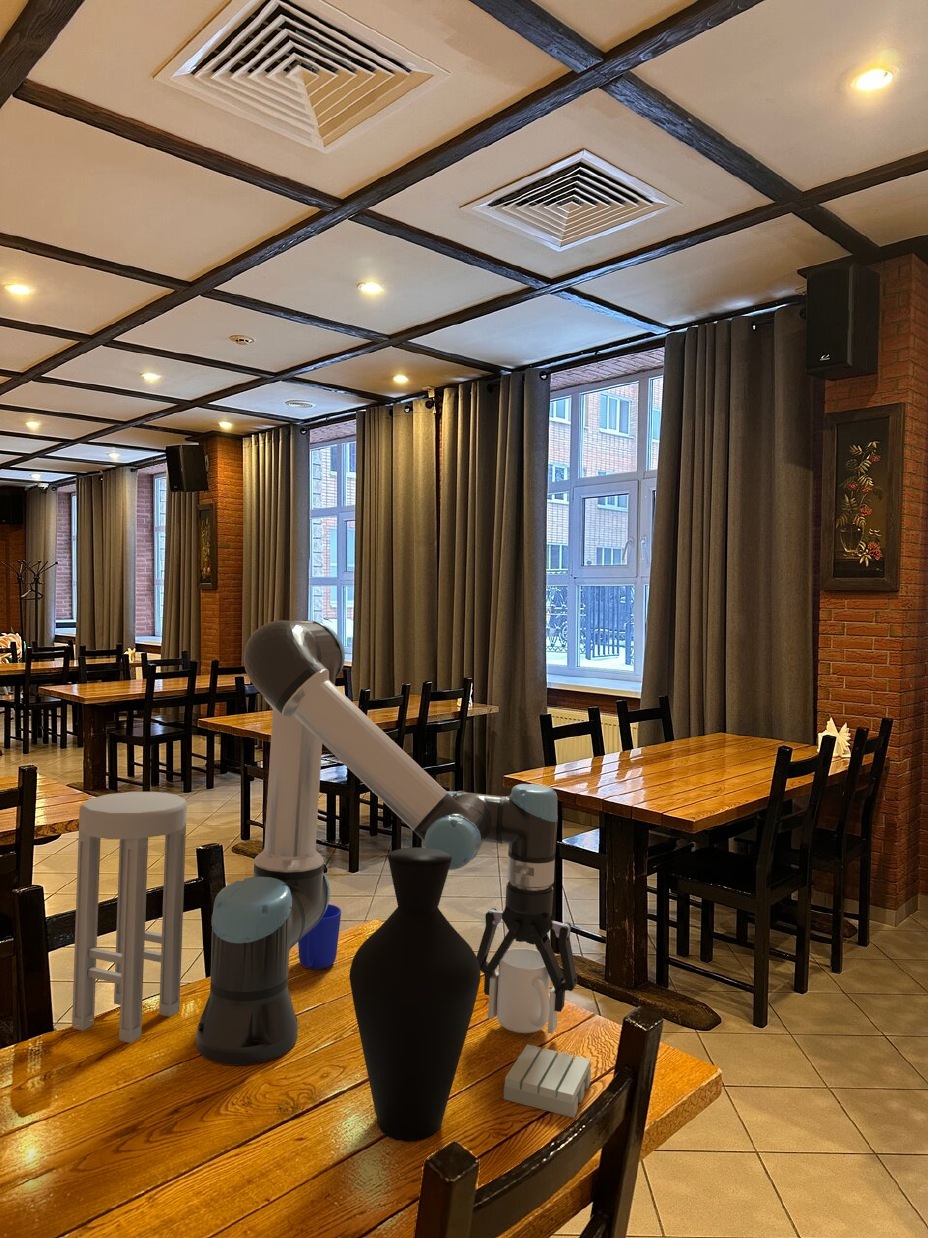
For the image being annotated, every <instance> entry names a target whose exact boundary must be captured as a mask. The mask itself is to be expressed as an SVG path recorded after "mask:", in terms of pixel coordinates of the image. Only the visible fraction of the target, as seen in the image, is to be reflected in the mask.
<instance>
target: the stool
mask: <svg viewBox="0 0 928 1238" xmlns="http://www.w3.org/2000/svg"><path fill="white" fill-rule="evenodd" d="M187 809H188V803H187V800H186V799H185V798H184V797H182V796H179V795H177V794H175V793H174V794H173V793H167V792H160V791H126V792H118V793H117V792H116V793H108V794H103V795H100V796H95V797H92V798H88V799H87V800H86V801H85V802H84V803H83V804H81V805H80V807H79V812H78V815H79V816H78V817H79V818H78V838H77V839H78V843H77V844H78V846H77V865H76V866H77V870H76V871H77V872H76V873H77V874H76V899H75V900H76V901H75V926H74V928H75V930H74V931H75V932H74V955H73V956H74V957H73V960H74V961H73V984H72V985H73V986H72V987H73V989H72V1012H71V1013H72V1014H71V1028H72V1027H73V1026H76V1025H79V1026H76V1027H73V1028H72V1029H75V1030H77V1031H78V1030H79V1031H82V1032H83V1031H85V1030H87V1029H88V1028H90V1027H92V1026H93V1025H94V1026H95V1007H96V1004H95V1003H96V981H97V980H100V981H104V982H109V983H113V984H114V989H113V990H114V992H113V995H114V996H113V1004H115V1005H119V1008H120V1009H119V1027H118V1028H119V1032H118V1040H119V1041H121V1042H125V1043H128V1044H132V1043H133V1042H134V1041H136V1040H138V1039H140V1038H141V1037H142V1026H143V1025H142V1024H143V1023H142V1022H143V1019H142V1018H143V994H144V989H143V988H144V967H145V966H144V965H145V964H144V963H145V962H144V961H145V960H148V961H152V962H157V963H160V975H159V976H160V978H159V979H160V980H159V1005H158V1006H159V1008H158V1015H161V1016H164V1017H168V1018H171V1017H173V1016H174V1015H175V1014H177V1013H178V1012H180V1010H181V1009H180V1005H181V1004H180V1003H181V982H182V981H181V980H182V979H181V976H182V975H181V974H182V952H183V951H182V948H183V922H184V921H183V919H184V895H185V894H184V893H185V891H184V890H185V870H186V869H185V865H186V864H185V863H186V841H187V840H186V836H187ZM160 836H165V837H164V838H165V839H164V842H165V843H164V862H163V863H164V868H163V869H164V870H163V892H162V893H163V894H162V896H163V897H162V917H161V918H162V922H161V923H162V924H161V925H162V926H161V933H159V932H154V931H148V930H146V915H147V914H146V911H147V910H146V906H147V883H148V881H147V879H148V856H149V855H148V854H149V852H148V851H149V838H154V837H160ZM101 839H104V840H105V839H106V840H119V843H118V844H119V849H118V850H119V851H118V876H117V877H118V878H117V879H118V880H117V904H116V905H117V906H116V931H115V934H116V935H115V936H116V937H115V938H116V939H115V951H113V950H112V951H110V950H107V949H103V948H102V949H101V948H98V946H97V945H98V921H99V920H98V919H99V897H100V896H99V891H100V889H99V888H100V864H101V863H100V862H101ZM145 941H146V942H150V943H156V944H161V945H160V946H161V952H159V951H156V950H151V949H145ZM97 960H101V961H105V962H108V963H109V962H110V963H113V964H115V965H114V971H111V970H107V969H102V968H99V967H97ZM92 1019H94V1020H92ZM89 1020H92V1021H89Z"/></svg>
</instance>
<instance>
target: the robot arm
mask: <svg viewBox="0 0 928 1238" xmlns="http://www.w3.org/2000/svg"><path fill="white" fill-rule="evenodd" d="M244 647H245V648H244V651H243V664H244V670H245V672H246V673H245V674H246V675H247V677H248V679H249V681H250V682H251V683H252V685H253V686H254V687H255V688H256V690H257V691H258V692H259V693H260V694H261V695H262V696H263V700H265V702H266V703H267V704H268V705H269V706H270V707H271V709H272V714H271V716H272V717H271V731H270V734H271V735H270V750H269V767H268V781H267V782H268V783H267V799H266V800H267V801H266V819H265V830H264V831H265V834H264V835H265V836H264V848H263V849H262V851H261V852H260V853H259V854H257V855H256V856H255V858H254V860H253V876H252V877H246V878H244V879H243V880H236V881H234V882H231V883H229V884H227V885H226V886H224V887H223V888H222V889H221V890H220V891H219V892H218V893H217V894H216V896H215V900H214V902H213V911H212V914H211V922H210V923H211V927H212V928H211V952H210V953H211V954H210V956H211V957H210V989H209V995H208V996H207V1000H206V1003H205V1006H204V1009H203V1011H202V1013H201V1016H200V1019H199V1021H198V1024H197V1029H196V1041H195V1044H196V1045H195V1046H196V1050H197V1051H198V1053H199V1054H200V1055H201V1056H202V1057H203V1058H205V1059H206V1060H209V1061H211V1062H214V1063H216V1064H220V1065H221V1064H222V1065H228V1066H248V1065H256V1064H261V1063H266V1062H268V1061H271V1060H274V1059H276V1058H278V1057H281V1056H283V1055H285V1054H286V1053H287V1052H289V1051H290V1050H291V1049H292V1048H294V1045H295V1044H297V1043H296V1042H297V1041H298V1033H299V1032H298V1029H299V1024H298V1017H297V1015H296V1014H295V1013H296V1012H295V1009H294V1005H293V1001H292V997H291V994H290V991H289V986H288V985H289V983H288V982H289V967H290V966H289V965H290V963H289V961H290V951H291V949H292V948H293V947H294V946H295V945H296V944H298V941H299V940H300V939H301V938H303V937H304V936H305V935H306V934H307V933H308V932H309V931H310V930H312V928H314V927H315V926H316V925H317V924H318V923H319V921H320V920H321V918H322V917H323V915H324V913H325V911H326V909H327V907H328V904H330V899H331V898H330V897H331V888H330V887H331V886H330V883H329V879H328V876H327V875H326V874H325V873H324V868H325V867H324V866H325V865H324V863H325V862H324V857H323V856H322V855H321V854H320V853H319V852H318V851H317V849H316V847H317V833H318V832H317V831H318V816H319V801H320V800H319V799H320V786H321V785H320V783H321V782H320V781H321V767H322V749H323V745H324V747H325V748H326V749H328V751H330V752H331V753H332V754H333V756H335V757H336V758H337V759H338V760H339V761H340V762H341V763H342V764H343V765H344V766H345V767H346V768H347V769H349V770H350V772H352V773H353V775H354V776H356V777H357V778H358V779H359V780H360V781H361V782H362V783H363V784H364V785H365V786H366V787H367V788H368V789H369V790H370V791H371V792H372V793H373V794H374V795H376V796H377V797H378V799H380V800H381V801H382V802H383V803H384V804H385V805H386V806H387V807H388V808H389V809H390V810H392V812H393V813H394V814H396V816H397V817H399V818H400V819H401V820H402V822H404V823H405V824H406V825H407V826H408V827H409V828H410V829H411V830H412V831H413V832H414V833H415V834H416V835H417V836H418V837H419V838H420V839H421V840H422V841H423V842H424V848H432V849H437V850H441V851H444V852H447V853H449V854H450V855H451V857H452V860H451V864H450V867H449V871H453V870H454V871H455V870H458V869H461V868H463V867H464V866H466V865H468V864H469V863H470V862H471V861H472V860H473V859H475V858H476V856H477V855H478V853H479V851H480V849H481V847H482V845H483V844H484V843H489V844H490V843H492V844H499V845H500V844H501V845H503V844H504V845H508V851H507V852H508V853H507V869H506V870H507V871H506V879H507V881H508V882H507V883H506V887H505V888H506V889H505V906H504V909H503V910H497V908H495V907H491V908H490V909H489V910H488V911H487V912H486V913H485V927H484V931H483V935H482V937H481V940H480V944H479V948H478V951H477V953H476V957H477V960H478V962H479V967H480V972H482V973H483V975H484V979H483V980H484V983H483V984H484V985H483V993H484V995H486V996H488V1009H487V1011H488V1012H487V1019H491V1020H493V1019H494V1018H495V1016H497V992H498V973H499V971H496V969H498V967H499V961H500V959H502V958H503V957H504V955H505V954H506V952H507V950H509V948H510V947H511V946H512V944H513V943H514V941H515V942H520V943H523V942H525V943H527V944H529V945H533V946H534V945H535V948H536V951H539V952H540V954H541V957H542V959H543V961H544V964H545V966H546V969H547V971H548V974H549V976H550V980H551V981H550V982H551V983H552V988H551V989H550V990H549V1001H550V1012H549V1018H548V1021H547V1033H548V1034H550V1035H552V1034H554V1032H555V1030H556V1029H557V1027H558V1013H561V1012H562V1010H563V1009H564V1007H565V1001H566V1000H565V999H566V991H569V992H572V991H573V990H574V989H575V987H576V986H577V984H578V977H577V971H576V966H575V961H574V960H575V959H574V956H573V949H572V944H571V938H570V936H571V931H572V925H571V923H570V922H568V921H566V922H564V923H563V922H560V921H555V919H554V917H553V899H554V886H553V884H554V882H555V860H556V859H555V858H556V849H557V848H556V845H557V834H558V833H557V831H558V817H559V815H558V795H557V792H556V791H555V790H554V789H553V788H552V787H551V786H547V785H544V784H543V785H542V784H538V783H537V784H536V783H530V784H529V783H520V784H517V785H514V786H513V787H512V788H511V793H509V795H506V796H505V795H504V796H503V795H494V794H487V793H486V794H483V793H474V792H466V791H464V790H458V791H447V790H446V789H444V788H443V786H442V785H440V784H439V783H438V782H437V781H436V780H435V779H434V778H433V777H432V776H431V775H430V774H429V773H428V772H427V771H426V770H424V768H422V767H421V766H420V765H419V764H418V762H416V761H415V760H414V759H413V758H412V757H411V756H410V755H409V754H408V753H406V752H405V750H403V749H402V747H400V746H399V745H398V743H396V742H395V741H394V740H392V738H390V736H389V735H387V734H386V733H385V731H384V730H383V729H381V728H380V727H379V726H378V724H376V723H375V722H374V721H373V720H372V719H371V718H370V717H369V716H367V715H366V714H365V712H363V711H362V710H361V709H360V708H359V707H358V706H357V705H356V704H355V703H354V702H353V701H352V700H351V699H349V698H348V696H346V695H345V694H344V693H343V691H341V690H340V689H339V688H338V687H337V686H336V679H337V678H338V677H339V676H340V675H341V672H342V670H343V668H344V665H345V661H346V660H345V659H346V654H345V647H344V644H343V642H342V639H341V638H340V637H339V635H338V634H337V632H336V631H334V629H332V628H331V626H329V625H326V624H324V623H322V622H319V621H316V620H309V619H297V620H295V619H294V620H285V619H284V620H273V621H271V622H266V623H265V624H263V625H262V626H260V627H259V628H257V629H256V630H255V631H254V632H253V633H252V634H251V635H250V637H249V639H248V640H247V642H246V644H245V646H244ZM501 921H503V923H504V925H505V926H506V928H507V930H508V931H507V932H506V934H505V936H504V938H503V940H502V941H501V943H500V945H499V946H498V948H497V949H496V951H495V953H494V954H493V956H492V958H491V959H490V961H489V962H488V961H487V960H488V956H489V953H490V950H491V947H492V945H493V944H492V943H493V942H494V941H493V940H494V937H495V934H496V931H497V928H498V925H499V924H500V923H501ZM551 930H553V931H554V933H555V936H556V938H558V940H557V941H558V943H557V944H558V949H559V955H560V960H561V966H562V969H561V967H560V964H559V962H558V958H557V957H556V954H555V952H554V949H553V947H552V945H551V938H550V937H549V932H550V931H551Z"/></svg>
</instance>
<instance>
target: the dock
mask: <svg viewBox="0 0 928 1238" xmlns="http://www.w3.org/2000/svg"><path fill="white" fill-rule="evenodd" d="M591 1077H592V1069H591V1059H590V1058H587V1057H582V1056H575V1057H574V1054H569V1053H565V1052H562V1051H561V1052H558V1051H556V1050H553V1049H549V1048H545V1047H544V1048H541V1047H540V1046H536V1045H531V1044H526V1046H525V1047H524V1048H523V1049H522V1052H521V1053H520V1054H519V1056H518V1057H517V1059H516V1061H515V1062H514V1064H513V1065H512V1067H511V1068H510V1070H509V1071H508V1072H507V1074H506V1075H505V1077H504V1085H503V1100H505V1101H508V1102H513V1103H517V1104H519V1105H520V1104H521V1105H525V1106H529V1107H532V1108H535V1109H539V1110H543V1111H546V1112H551V1113H554V1114H558V1115H561V1116H565V1117H568V1118H569V1117H570V1118H572V1119H574V1118H575V1117H576V1115H577V1113H578V1106H579V1105H578V1104H581V1103H582V1101H583V1099H584V1097H585V1090H588V1089H589V1087H590V1085H591V1082H592V1080H591V1079H592V1078H591Z"/></svg>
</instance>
